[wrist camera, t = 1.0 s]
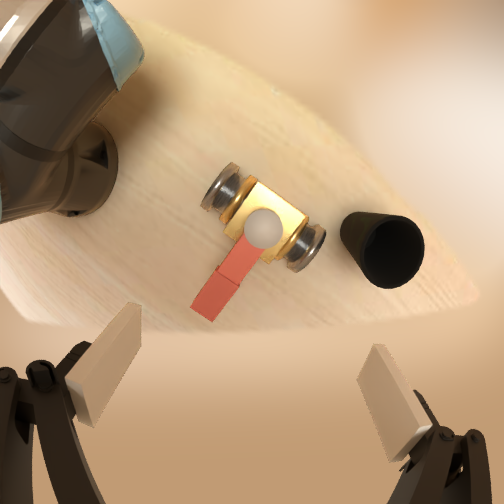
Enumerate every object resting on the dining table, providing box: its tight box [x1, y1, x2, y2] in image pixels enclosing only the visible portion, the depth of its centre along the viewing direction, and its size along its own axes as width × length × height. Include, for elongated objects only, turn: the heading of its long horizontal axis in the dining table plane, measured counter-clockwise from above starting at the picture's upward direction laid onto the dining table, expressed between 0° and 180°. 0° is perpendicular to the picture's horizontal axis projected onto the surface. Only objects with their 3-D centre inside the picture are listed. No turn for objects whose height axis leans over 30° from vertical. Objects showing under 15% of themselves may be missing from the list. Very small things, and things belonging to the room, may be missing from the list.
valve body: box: [201, 162, 326, 273], centre depth 33 cm, size 14×7×10 cm, turn 54°
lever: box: [190, 208, 283, 322], centre depth 28 cm, size 13×4×2 cm, turn 144°
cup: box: [340, 212, 425, 289], centre depth 32 cm, size 8×8×12 cm
